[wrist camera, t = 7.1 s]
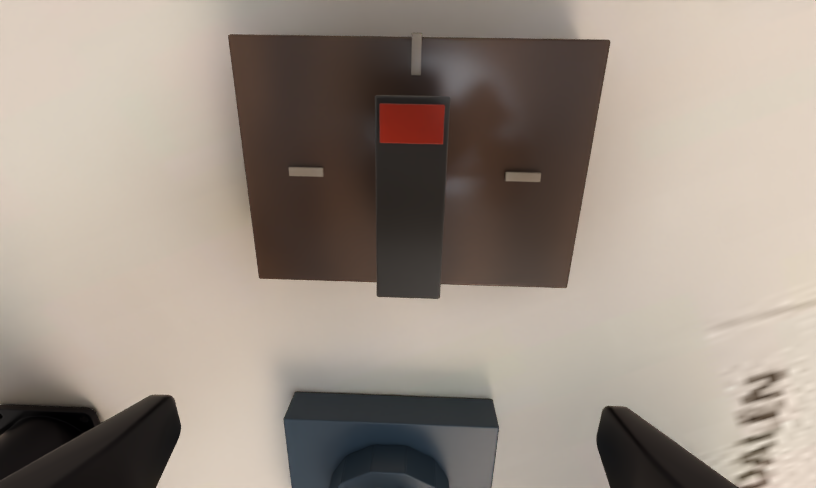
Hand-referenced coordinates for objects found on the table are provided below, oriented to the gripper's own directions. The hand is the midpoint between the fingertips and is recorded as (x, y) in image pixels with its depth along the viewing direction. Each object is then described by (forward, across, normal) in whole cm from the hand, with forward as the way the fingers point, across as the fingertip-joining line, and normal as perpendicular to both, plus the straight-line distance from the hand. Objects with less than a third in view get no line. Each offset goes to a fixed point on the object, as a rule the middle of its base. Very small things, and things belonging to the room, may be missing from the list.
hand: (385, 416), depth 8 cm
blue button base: (+13, +1, +16) cm, 20 cm away
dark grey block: (+10, 0, -3) cm, 10 cm away
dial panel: (+13, 0, -3) cm, 13 cm away
